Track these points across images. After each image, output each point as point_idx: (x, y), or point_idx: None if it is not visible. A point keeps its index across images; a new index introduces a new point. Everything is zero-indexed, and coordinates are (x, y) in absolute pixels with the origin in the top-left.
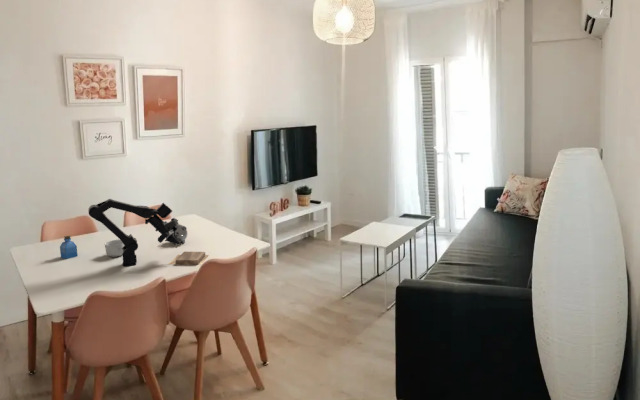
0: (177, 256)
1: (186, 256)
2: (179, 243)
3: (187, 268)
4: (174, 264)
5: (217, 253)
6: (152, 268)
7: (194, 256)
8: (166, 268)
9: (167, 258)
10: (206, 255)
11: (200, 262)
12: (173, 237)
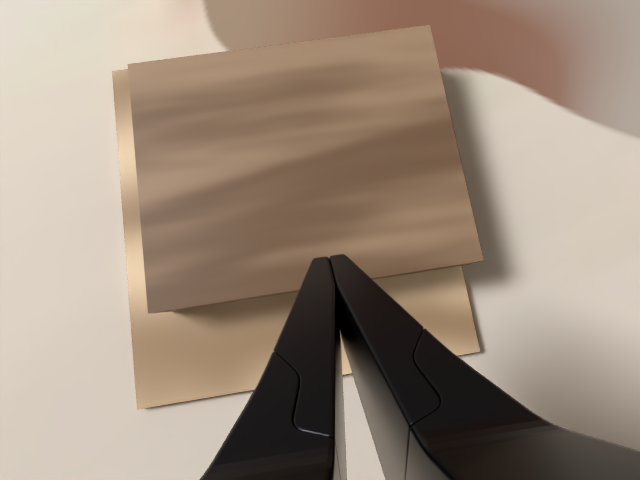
0: (206, 380)
1: (334, 195)
2: (349, 259)
3: (513, 117)
4: (464, 280)
5: (33, 27)
6: None
7: (314, 108)
8: (572, 312)
9: None
10: (129, 89)
11: None
12: (515, 404)
